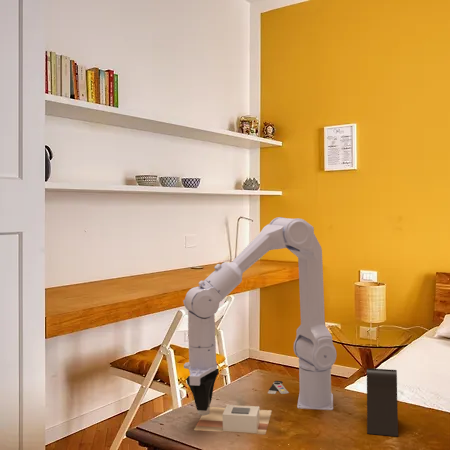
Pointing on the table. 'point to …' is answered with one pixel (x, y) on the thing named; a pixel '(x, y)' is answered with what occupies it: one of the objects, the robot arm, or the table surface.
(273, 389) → the usb flash drive
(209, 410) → the grey capped cylinder
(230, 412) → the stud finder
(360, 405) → the table surface
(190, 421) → the table surface
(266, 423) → the panel
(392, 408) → the phone stand
